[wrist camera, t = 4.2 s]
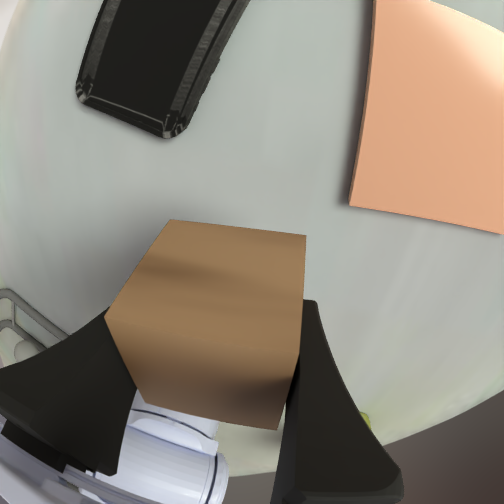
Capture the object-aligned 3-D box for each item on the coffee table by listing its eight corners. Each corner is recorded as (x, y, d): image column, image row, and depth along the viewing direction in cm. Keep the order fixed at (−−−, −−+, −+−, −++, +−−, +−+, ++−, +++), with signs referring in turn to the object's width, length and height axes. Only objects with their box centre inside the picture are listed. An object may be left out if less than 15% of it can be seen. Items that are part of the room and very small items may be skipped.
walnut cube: (289, 328, 14) (276, 430, 10) (183, 312, 14) (145, 403, 10) (306, 235, 11) (298, 353, 7) (170, 219, 11) (103, 316, 7)
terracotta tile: (506, 230, 16) (512, 236, 15) (348, 199, 17) (349, 205, 16) (549, 64, 9) (557, 66, 8) (373, -11, 10) (377, -15, 9)
